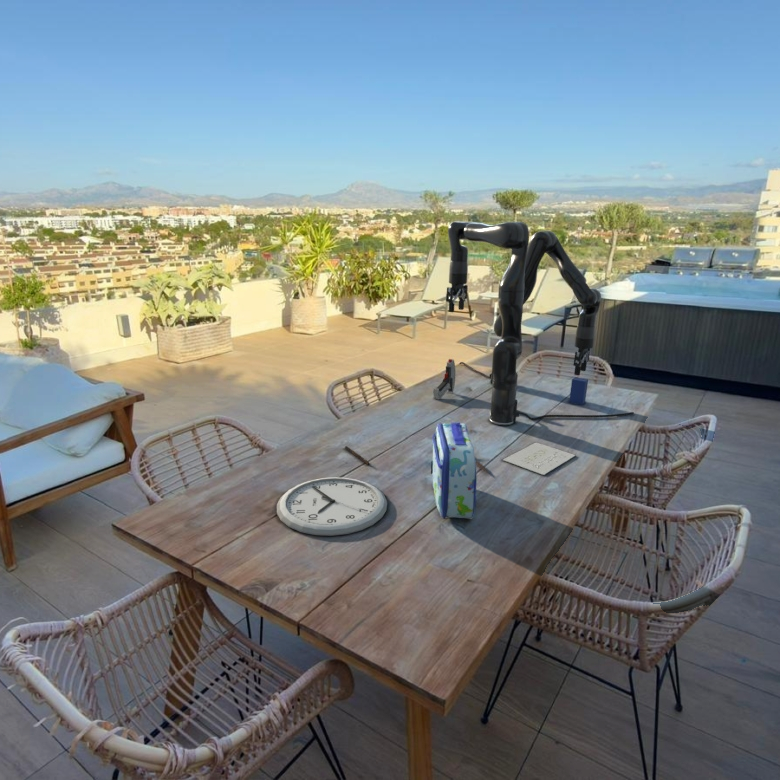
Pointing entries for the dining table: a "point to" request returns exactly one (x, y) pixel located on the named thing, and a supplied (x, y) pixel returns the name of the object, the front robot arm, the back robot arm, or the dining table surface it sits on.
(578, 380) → the block
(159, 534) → the dining table surface
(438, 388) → the toy gun
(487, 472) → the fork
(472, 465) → the lunch box
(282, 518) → the wall clock
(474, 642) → the dining table surface
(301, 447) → the dining table surface
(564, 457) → the invitation card
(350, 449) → the brown wooden stick
